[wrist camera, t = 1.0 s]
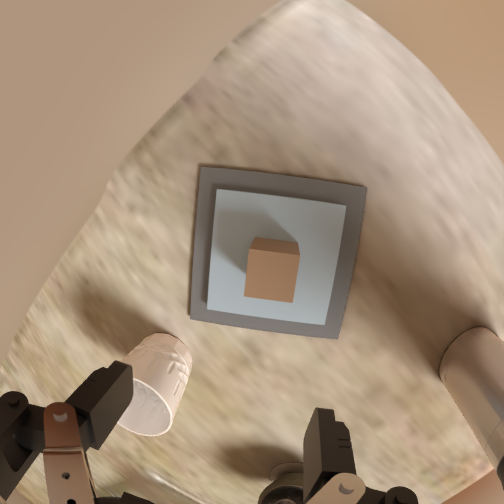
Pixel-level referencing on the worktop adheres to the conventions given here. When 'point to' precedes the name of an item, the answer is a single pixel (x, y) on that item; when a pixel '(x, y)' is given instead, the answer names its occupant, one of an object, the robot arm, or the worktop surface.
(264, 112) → the worktop surface
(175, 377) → the white cup
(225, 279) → the lid
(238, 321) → the mat
